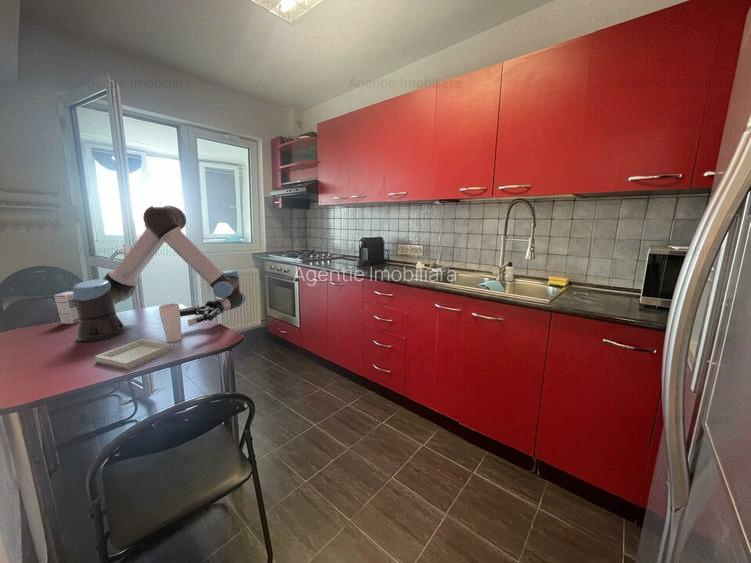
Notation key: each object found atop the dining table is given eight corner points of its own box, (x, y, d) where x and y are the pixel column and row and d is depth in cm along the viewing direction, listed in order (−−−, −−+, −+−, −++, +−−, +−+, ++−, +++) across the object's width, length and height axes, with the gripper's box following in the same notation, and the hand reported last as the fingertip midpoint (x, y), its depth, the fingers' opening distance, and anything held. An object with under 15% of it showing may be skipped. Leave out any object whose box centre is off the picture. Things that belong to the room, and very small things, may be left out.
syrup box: (73, 323, 141) (66, 294, 138) (60, 323, 141) (53, 294, 138) (84, 319, 147) (78, 291, 144) (73, 319, 147) (66, 291, 144)
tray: (96, 362, 104) (94, 356, 104) (143, 344, 119) (142, 338, 119) (127, 370, 99) (126, 363, 99) (172, 349, 114) (171, 343, 114)
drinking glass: (187, 338, 125) (182, 304, 122) (172, 344, 119) (166, 309, 116) (176, 335, 127) (171, 302, 124) (160, 342, 121) (154, 307, 118)
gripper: (239, 316, 139) (200, 333, 120) (198, 311, 147) (156, 326, 127) (237, 301, 138) (198, 315, 118) (196, 296, 145) (153, 309, 126)
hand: (176, 321), depth 123 cm, fingers open, 13 cm apart
